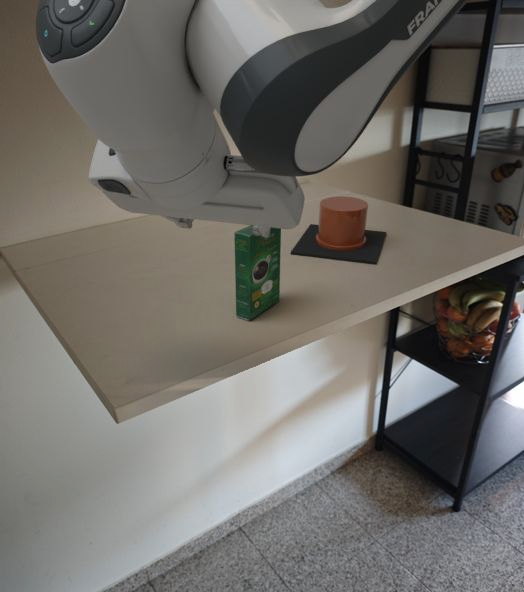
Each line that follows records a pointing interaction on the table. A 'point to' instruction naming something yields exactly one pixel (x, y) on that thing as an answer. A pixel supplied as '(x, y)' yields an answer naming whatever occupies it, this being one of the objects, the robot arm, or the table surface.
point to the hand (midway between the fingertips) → (224, 226)
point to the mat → (362, 255)
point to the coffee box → (256, 271)
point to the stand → (342, 223)
